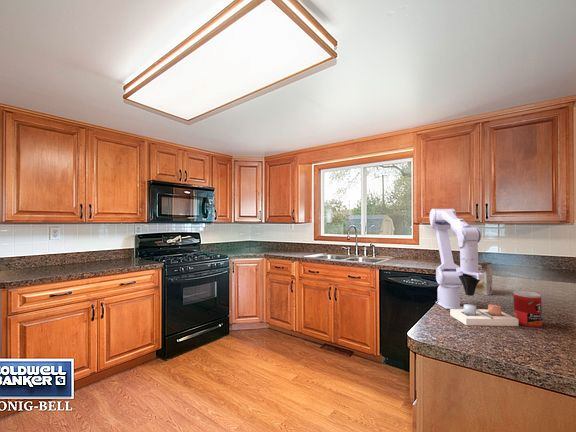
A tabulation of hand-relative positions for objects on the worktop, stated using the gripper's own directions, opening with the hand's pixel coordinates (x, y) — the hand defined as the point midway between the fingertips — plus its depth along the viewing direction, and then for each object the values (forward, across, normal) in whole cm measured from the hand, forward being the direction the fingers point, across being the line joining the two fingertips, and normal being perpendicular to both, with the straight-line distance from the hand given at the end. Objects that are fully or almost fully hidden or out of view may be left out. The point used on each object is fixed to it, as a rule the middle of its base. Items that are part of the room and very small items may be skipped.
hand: (469, 295), depth 106 cm
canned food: (+10, +3, +19) cm, 21 cm away
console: (+9, 0, +4) cm, 10 cm away
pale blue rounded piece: (+7, 0, 0) cm, 7 cm away
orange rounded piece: (+8, 0, +9) cm, 12 cm away
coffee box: (+10, -42, +30) cm, 52 cm away
